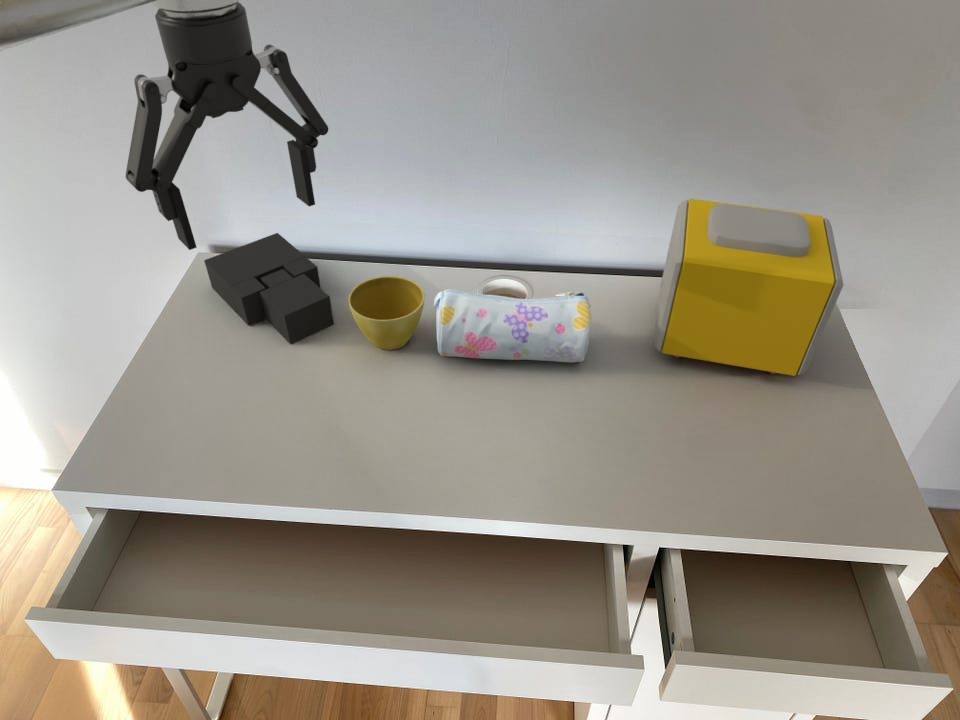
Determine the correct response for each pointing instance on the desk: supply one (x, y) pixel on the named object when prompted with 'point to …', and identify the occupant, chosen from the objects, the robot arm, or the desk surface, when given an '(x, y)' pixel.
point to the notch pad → (255, 273)
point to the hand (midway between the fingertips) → (249, 221)
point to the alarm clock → (747, 286)
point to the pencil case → (513, 326)
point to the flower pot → (387, 310)
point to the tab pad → (295, 305)
